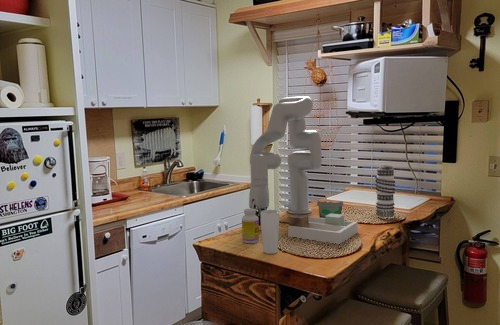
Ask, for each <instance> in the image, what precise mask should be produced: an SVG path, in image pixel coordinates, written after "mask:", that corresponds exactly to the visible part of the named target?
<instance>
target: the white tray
mask: <svg viewBox="0 0 500 325" xmlns="http://www.w3.org/2000/svg"><path fill="white" fill-rule="evenodd" d="M358 227H359V224H358V221H354V220H353V221H352V220H345V219H344V226H338V225H330V224H325V218H320V216H319V217H318V216H308V228H305V227H297V226H289V225H288V227H287V228H288V229H287V230H288V237H289V236H293V237H297V238H296V239H299V238H302V239H301V240H306V239H309V240H308V241H312V240H316V241H315V242H319V241H323V242H322V243H326V242H330V243H329V244H332V243H336V244H335V245H339V244H340V243H341V244H343V243H344V242H345V240H346V241H347V240H349V239H350V238H352V237H353V236H355V235H356V234H358V231H359V229H358ZM351 236H352V237H351ZM348 238H349V239H348ZM342 242H343V243H342ZM341 244H340V245H341Z"/></svg>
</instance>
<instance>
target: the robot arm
mask: <svg viewBox="0 0 500 325" xmlns="http://www.w3.org/2000/svg"><path fill="white" fill-rule="evenodd" d="M313 104H314V102H313V100H312V98H311V97H310V96H291V97H283V98H281V99H279V100H278V103H276V104H274V106H273V107H272V110H271V112H270V113H271V114H270V117H269V121H268V124H267V128H266V130H265V131H264V132H263V133H262V134H261V135H260V136H259V137H258V138H257V139H256V140H255V142H254V143H253V146H252V148H251V152H250V155H249V166H250V187H249V188H250V189H249V194H248V195H249V196H248V206H249V207H248V208H249V209H256V214H255V215H256V216H258V218H259V225H261V216H260V213H261V211H263V210H268V208H269V205H270V192H269V191H270V190H269V174H268V173H269V170H276V169H278V168H279V167H280V166H281V163H282V158H281V156H280V155H279V154H278V153H277V152H265V151H264V149H265V148H266V147H267V146H269V145H270V144H272V143H274V142H276V141H277V142H278V140H281V139H282V138H284V136H285V133H286V129H287V125H288V133H289V134H288V136H289V144H290V147H291V148H292V149H296V151H292V152H290V153H289V154H288V156H287V165H288V171H289V197H290V198H289V202H284V203H283V206H284V208H287V210H286V211H287V213H289V214H291V215H295V214H299V215H307V214H310V213H312V209H311V208H310V207H309V205H310V204H309V199H310V198H309V176H308V174H307V172H306V171H318V170H320V169H321V167H322V162H323V160H322V157H323V156H322V139H321V135H320V133H319V132H318V130H317V131H316V130H314V129H311V130H309V129H308V130H307V129H306V128H307V127H306V119H305V117H306V116H308V115H309V114H311V112H312V110H313V107H314V105H313ZM297 150H309V151H297Z"/></svg>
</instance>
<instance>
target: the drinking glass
mask: <svg viewBox="0 0 500 325" xmlns="http://www.w3.org/2000/svg"><path fill="white" fill-rule="evenodd" d="M279 221H280V211H278V210H277V209H267V210H263V211H261V226H260V230H261V240H262V251H263V253H264V254H266V255H273V254H277V253H278V251H279V232H280V223H279Z"/></svg>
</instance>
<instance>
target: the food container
mask: <svg viewBox="0 0 500 325" xmlns="http://www.w3.org/2000/svg"><path fill="white" fill-rule="evenodd" d="M316 206H318V213H319V218H325V216H326V215H328V214H330V213H332V214H341V215H342V210H343V206H344V201H343V200H340V201H338V202H336V201H319V200H317V202H316Z"/></svg>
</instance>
